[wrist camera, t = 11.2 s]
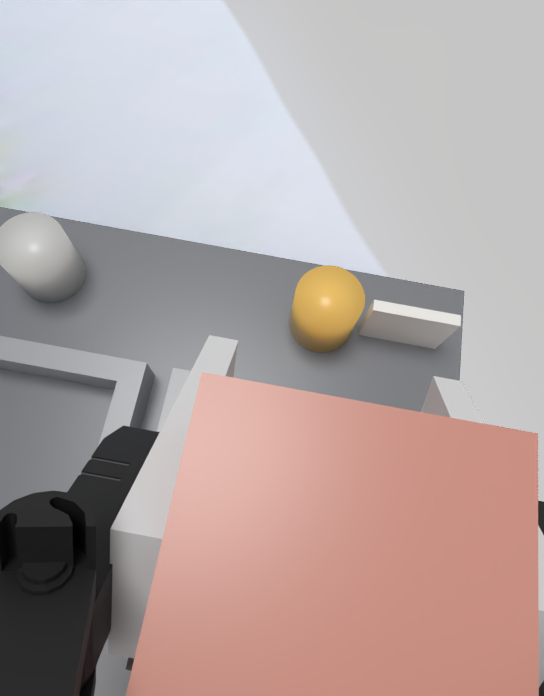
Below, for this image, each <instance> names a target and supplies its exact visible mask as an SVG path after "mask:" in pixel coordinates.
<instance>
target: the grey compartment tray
mask: <svg viewBox="0 0 544 696" xmlns="http://www.w3.org/2000/svg"><path fill="white" fill-rule="evenodd" d="M463 305H464V291H461V290H456V289H450V288H445V287H439V286H434V285H428V284H423V283H417V282H411V281H406V280H400V279H395V278H390V277H384V276H379V275H373V274H368V273H362V272H356V271H351V270H345V269H343V268H340V267H336V266H323V265H318V264H312V263H307V262H301V261H296V260H290V259H285V258H279V257H274V256H268V255H262V254H257V253H251V252H246V251H240V250H235V249H229V248H224V247H218V246H213V245H207V244H202V243H196V242H191V241H185V240H179V239H174V238H168V237H163V236H157V235H152V234H146V233H141V232H135V231H130V230H124V229H119V228H113V227H108V226H102V225H97V224H91V223H85V222H80V221H74V220H69V219H63V218H58V217H52V216H49V215H46V214H43V213H37V212H25V211H19V210H14V209H8V208H2V207H0V510H1V509H2V508H4V507H5V506H7V505H8V504H9V503H11V502H12V501H14V500H16V499H19V498H21V497H24V496H27V495H29V494H32V493H37V492H45V491H53V490H54V491H61V492H68V490H69V489H70V487H71V486H72V484H73V483H74V481H75V480H76V478H77V477H78V475H81V472H82V469H83V468H84V467H85V465H86V464H87V462H88V461H89V460H91V456H92V455H93V453H94V452H95V450H96V449H97V447H98V446H99V444H100V443H101V441H102V440H103V438H105V437H106V436H108V435H110V434H111V433H113V432H114V431H116V430H117V429H119V428H120V427H122V426H123V425H124V426H129V427H134V428H140V429H145V430H151V431H156V432H160V431H161V429H162V427H163V425H164V423H165V421H166V419H167V417H168V415H169V413H170V411H171V409H172V407H173V405H174V403H175V401H176V399H177V397H178V395H179V393H180V392H181V390H182V388H183V386H184V384H185V382H186V380H187V378H188V376H189V374H190V372H191V370H192V368H193V366H194V364H195V362H196V360H197V358H198V356H199V354H200V352H201V350H202V348H203V346H204V345H205V343H206V341H207V339H208V337H209V335H212V336H217V337H223V338H228V339H234V340H238V347H237V354H236V362H235V369H234V376H233V378H238V379H244V380H249V381H254V382H260V383H265V384H271V385H276V386H282V387H287V388H292V389H298V390H303V391H309V392H314V393H320V394H325V395H331V396H336V397H341V398H347V399H352V400H358V401H363V402H369V403H374V404H379V405H385V406H390V407H396V408H401V409H407V410H412V411H417V412H421V410H422V407H423V404H424V401H425V398H426V395H427V392H428V389H429V387H430V384H431V381H432V378H433V376H436V377H442V378H447V379H453V380H458V381H459V379H460V360H461V342H462V341H461V340H462V323H463ZM133 662H134V658H129V657H124V656H119V655H114V654H108V637H107V640H106V642H105V645H104V647H103V650H102V652H101V654H100V657H99V659H98V662H97V664H96V685H95V692H94V696H126V692H127V688H128V683H129V679H130V675H131V671H132V666H133Z"/></svg>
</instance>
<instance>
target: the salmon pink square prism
mask: <svg viewBox="0 0 544 696" xmlns="http://www.w3.org/2000/svg"><path fill="white" fill-rule="evenodd" d="M126 696H539V612H538V434H537V433H532V432H526V431H521V430H515V429H510V428H504V427H499V426H493V425H488V424H483V423H477V422H472V421H466V420H461V419H456V418H450V417H445V416H439V415H434V414H428V413H423V412H417V411H412V410H407V409H401V408H396V407H390V406H385V405H379V404H374V403H369V402H363V401H358V400H352V399H347V398H341V397H336V396H331V395H325V394H320V393H314V392H309V391H303V390H298V389H292V388H287V387H282V386H276V385H271V384H265V383H260V382H254V381H249V380H244V379H238V378H233V377H227V376H222V375H216V374H211V373H205V372H202V373H201V377H200V381H199V385H198V390H197V394H196V398H195V402H194V407H193V411H192V415H191V419H190V424H189V428H188V432H187V436H186V441H185V445H184V449H183V454H182V458H181V462H180V466H179V471H178V475H177V479H176V483H175V488H174V492H173V496H172V500H171V505H170V509H169V513H168V517H167V522H166V526H165V530H164V534H163V539H162V543H161V547H160V551H159V556H158V560H157V564H156V568H155V573H154V577H153V581H152V585H151V590H150V594H149V598H148V603H147V607H146V611H145V615H144V620H143V624H142V628H141V632H140V637H139V641H138V645H137V649H136V654H135V658H134V662H133V666H132V671H131V675H130V679H129V683H128V688H127V692H126Z"/></svg>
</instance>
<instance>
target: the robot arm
mask: <svg viewBox="0 0 544 696" xmlns="http://www.w3.org/2000/svg"><path fill="white" fill-rule="evenodd" d="M237 347H238V340H234V339H228V338H223V337H217V336H212V335H209V337H208V339H207V341H206V343H205V345H204V346H203V348H202V350H201V352H200V354H199V356H198V358H197V360H196V362H195V364H194V366H193V368H192V370H191V372H190V374H189V376H188V378H187V380H186V382H185V384H184V386H183V388H182V390H181V392H180V393H179V395H178V397H177V399H176V401H175V403H174V405H173V407H172V409H171V411H170V413H169V415H168V417H167V419H166V421H165V423H164V425H163V427H162V429H161V431H160V432H156V431H151V430H145V429H140V428H134V427H129V426H124V425H123V426H122V427H120V428H119V429H117V430H116V431H114V432H113V433H111V434H110V435H108V436H106V437H105V438H103V440H102V441H101V443H100V444H99V446H98V447H97V449H96V450H95V452H94V453H93V455H92V456H91V460H89V461H88V462H87V464H86V465H85V467H84V468H83V469H82V472H81V475H78V477H77V478H76V480H75V481H74V483H73V484H72V486H71V487H70V489H69V490H68V492H61V491H54V490H53V491H45V492H37V493H32V494H29V495H27V496H24V497H21V498H19V499H16V500H14V501H12V502H11V503H9V504H8V505H7V506H5V507H4V508H2V509H1V510H0V696H94V692H95V685H96V664H97V662H98V659H99V657H100V654H101V652H102V650H103V647H104V645H105V642H106V640H107V637H108V654H114V655H119V656H124V657H129V658H135V654H136V649H137V645H138V641H139V637H140V632H141V628H142V624H143V620H144V615H145V611H146V607H147V603H148V598H149V594H150V590H151V585H152V581H153V577H154V573H155V568H156V564H157V560H158V556H159V551H160V547H161V543H162V539H163V534H164V530H165V526H166V522H167V517H168V513H169V509H170V505H171V500H172V496H173V492H174V488H175V483H176V479H177V475H178V471H179V466H180V462H181V458H182V454H183V449H184V445H185V441H186V436H187V432H188V428H189V424H190V419H191V415H192V411H193V407H194V402H195V398H196V394H197V390H198V385H199V381H200V377H201V373H202V372H205V373H211V374H216V375H222V376H227V377H233V376H234V369H235V362H236V354H237ZM421 412H423V413H428V414H434V415H439V416H445V417H450V418H456V419H461V420H466V421H472V422H477V423H483V424H485V423H484V421H483V419H482V417H481V415H480V413H479V411H478V409H477V408H476V406H475V404H474V402H473V400H472V398H471V396H470V394H469V392H468V390H467V389H466V387H465V385H464V383H463V381H458V380H453V379H447V378H442V377H436V376H433V378H432V381H431V384H430V387H429V389H428V392H427V395H426V398H425V401H424V404H423V407H422V410H421ZM538 612H539V696H544V502H542V501H538Z"/></svg>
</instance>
